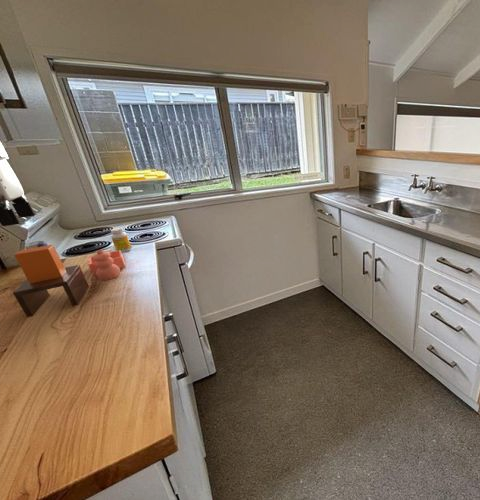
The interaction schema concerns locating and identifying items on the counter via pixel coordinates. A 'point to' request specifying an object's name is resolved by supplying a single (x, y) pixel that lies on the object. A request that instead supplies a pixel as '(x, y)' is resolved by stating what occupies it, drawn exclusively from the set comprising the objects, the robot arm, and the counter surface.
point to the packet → (40, 263)
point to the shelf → (37, 293)
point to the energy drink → (36, 244)
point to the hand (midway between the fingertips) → (19, 220)
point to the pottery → (106, 264)
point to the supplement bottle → (120, 240)
